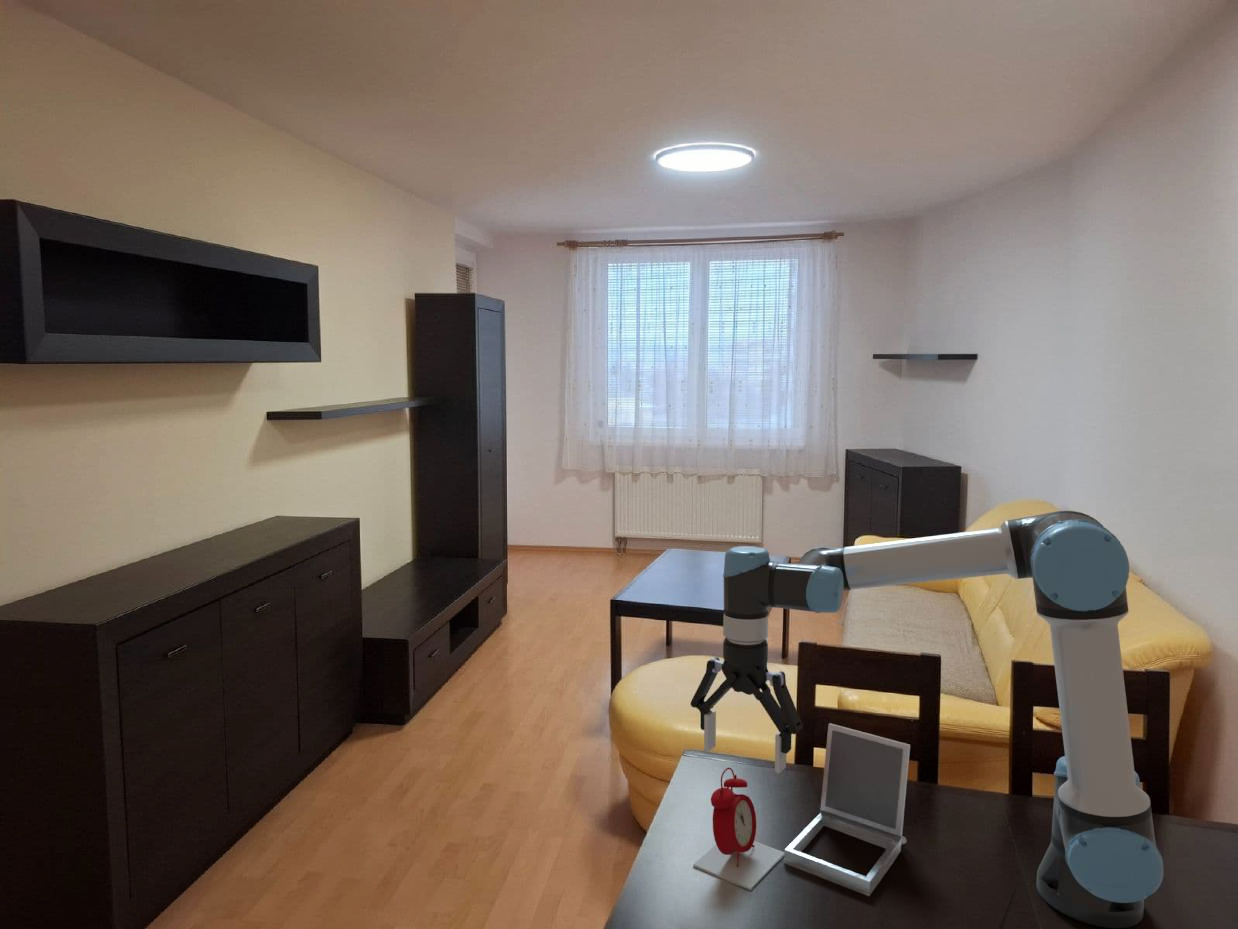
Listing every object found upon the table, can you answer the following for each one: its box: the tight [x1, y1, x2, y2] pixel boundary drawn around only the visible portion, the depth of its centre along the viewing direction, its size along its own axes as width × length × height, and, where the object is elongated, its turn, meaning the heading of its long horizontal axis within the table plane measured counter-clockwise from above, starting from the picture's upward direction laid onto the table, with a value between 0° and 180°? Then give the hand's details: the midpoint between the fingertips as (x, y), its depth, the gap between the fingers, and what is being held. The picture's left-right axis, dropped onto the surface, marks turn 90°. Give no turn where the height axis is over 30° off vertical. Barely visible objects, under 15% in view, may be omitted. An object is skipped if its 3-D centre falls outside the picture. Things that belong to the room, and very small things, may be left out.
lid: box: [820, 722, 911, 836], centre depth 149 cm, size 15×16×1 cm
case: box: [783, 809, 902, 897], centre depth 143 cm, size 15×16×3 cm
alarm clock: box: [710, 767, 757, 867], centre depth 142 cm, size 10×6×15 cm, turn 149°
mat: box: [692, 840, 784, 892], centre depth 141 cm, size 11×13×1 cm
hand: (744, 759), depth 140 cm, fingers open, 13 cm apart
